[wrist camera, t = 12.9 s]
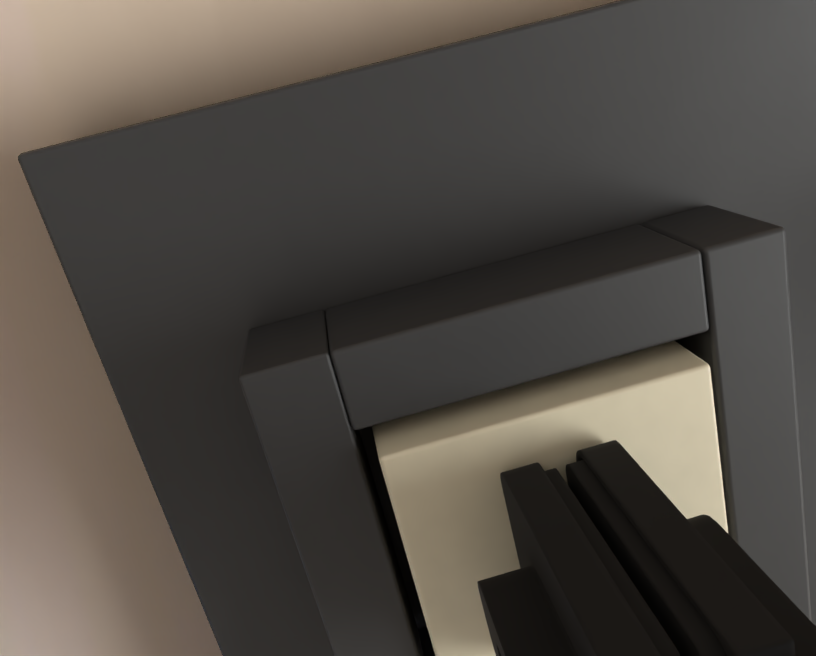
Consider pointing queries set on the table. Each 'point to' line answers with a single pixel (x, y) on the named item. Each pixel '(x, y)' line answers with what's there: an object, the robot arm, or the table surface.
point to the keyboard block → (447, 285)
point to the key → (552, 448)
